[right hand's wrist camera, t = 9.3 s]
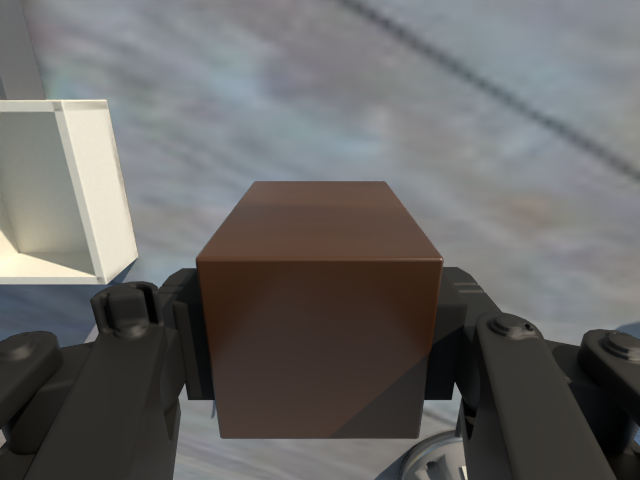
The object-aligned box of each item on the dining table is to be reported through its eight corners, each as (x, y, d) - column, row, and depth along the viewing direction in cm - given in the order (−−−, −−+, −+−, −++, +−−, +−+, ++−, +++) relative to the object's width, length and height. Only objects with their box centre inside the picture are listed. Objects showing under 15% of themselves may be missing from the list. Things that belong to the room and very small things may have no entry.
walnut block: (378, 296, 16) (419, 440, 9) (261, 295, 16) (219, 440, 9) (386, 181, 14) (446, 258, 7) (253, 180, 14) (193, 257, 7)
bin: (138, 256, 36) (106, 284, 31) (20, 256, 36) (-33, 284, 31) (71, -77, 26) (7, -122, 21) (-91, -77, 26) (-197, -122, 21)
